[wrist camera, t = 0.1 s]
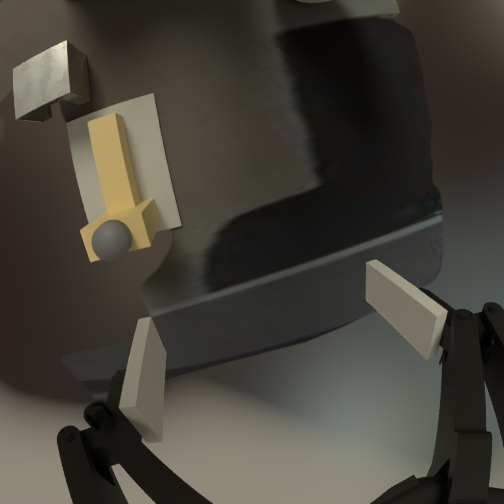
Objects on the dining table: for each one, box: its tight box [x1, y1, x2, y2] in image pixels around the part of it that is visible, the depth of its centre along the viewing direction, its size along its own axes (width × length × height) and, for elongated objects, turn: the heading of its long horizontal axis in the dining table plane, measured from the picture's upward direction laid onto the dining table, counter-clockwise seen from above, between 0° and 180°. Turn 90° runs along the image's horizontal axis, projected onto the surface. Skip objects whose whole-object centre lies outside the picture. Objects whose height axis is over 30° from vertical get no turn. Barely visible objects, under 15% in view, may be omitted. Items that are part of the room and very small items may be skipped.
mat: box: [66, 93, 182, 232], centre depth 37 cm, size 20×14×1 cm
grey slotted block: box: [13, 40, 91, 122], centre depth 27 cm, size 8×9×8 cm
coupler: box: [80, 112, 160, 263], centre depth 31 cm, size 17×8×12 cm, turn 10°
